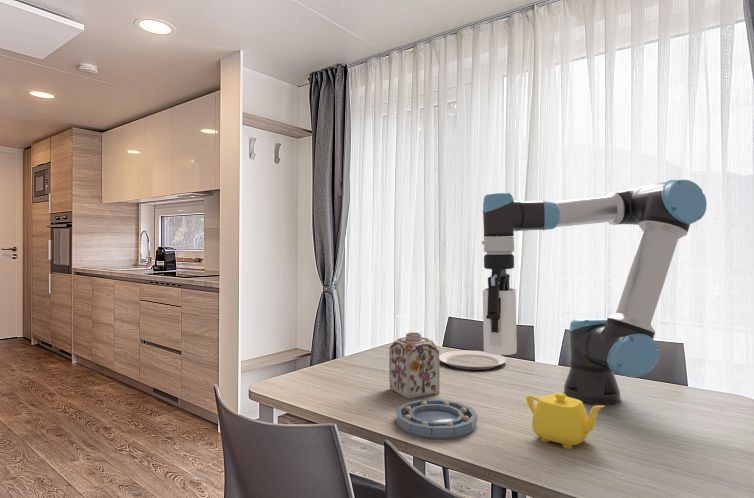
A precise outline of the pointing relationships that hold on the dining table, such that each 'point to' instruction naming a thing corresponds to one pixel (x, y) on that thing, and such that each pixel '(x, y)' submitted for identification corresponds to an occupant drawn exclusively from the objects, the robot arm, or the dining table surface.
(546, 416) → the teapot
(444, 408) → the tray
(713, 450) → the dining table surface
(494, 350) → the cup
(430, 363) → the decorative jar
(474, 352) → the plate
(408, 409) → the beads
